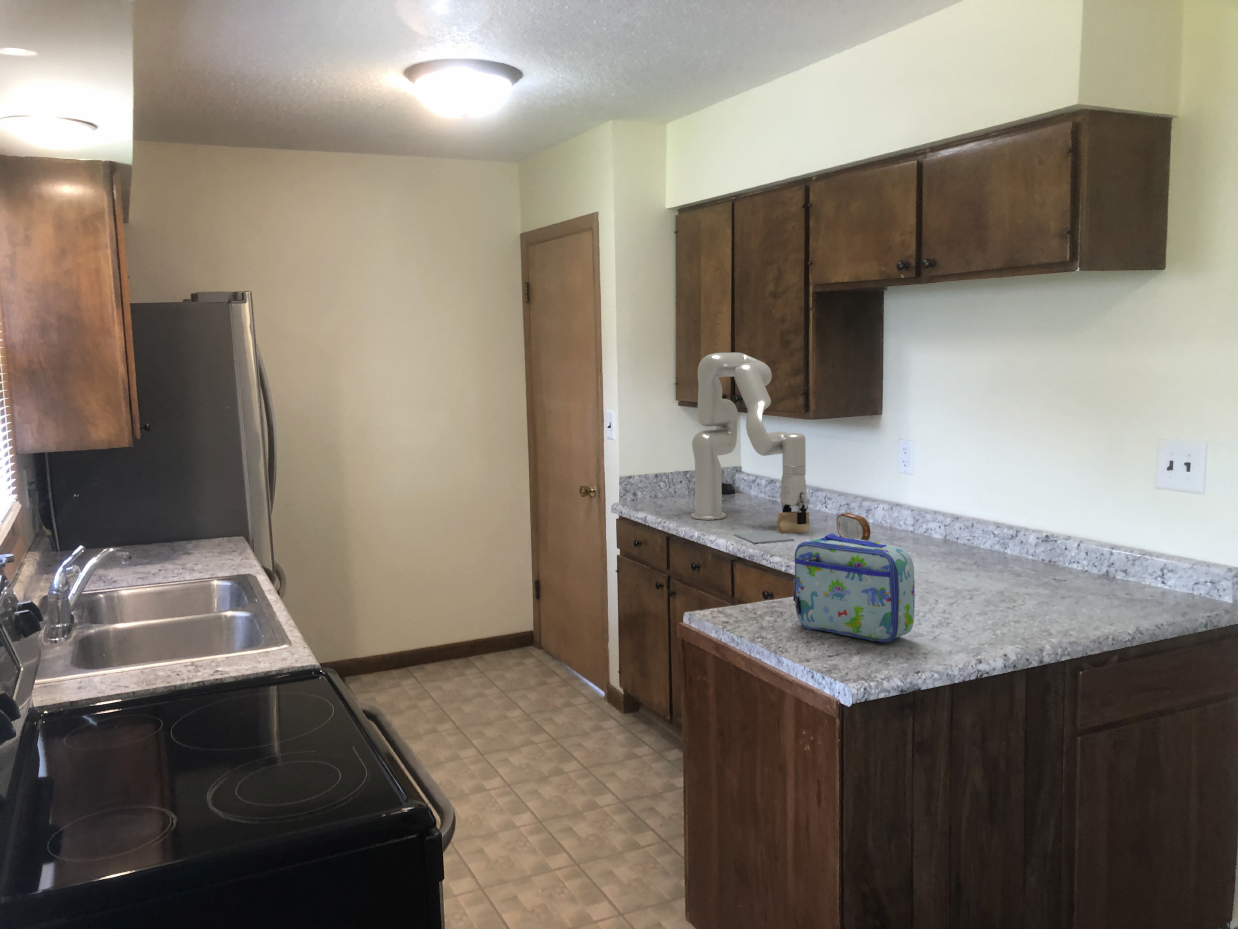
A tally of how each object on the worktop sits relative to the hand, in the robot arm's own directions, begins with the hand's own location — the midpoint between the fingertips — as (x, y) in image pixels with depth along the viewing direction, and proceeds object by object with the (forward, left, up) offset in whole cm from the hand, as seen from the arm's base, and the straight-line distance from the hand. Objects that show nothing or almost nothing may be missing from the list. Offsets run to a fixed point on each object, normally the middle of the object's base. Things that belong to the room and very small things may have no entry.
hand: (794, 521), depth 319 cm
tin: (+20, +10, -4) cm, 22 cm away
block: (0, 0, -4) cm, 4 cm away
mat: (+5, -14, -3) cm, 15 cm away
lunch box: (+103, -44, -4) cm, 112 cm away
